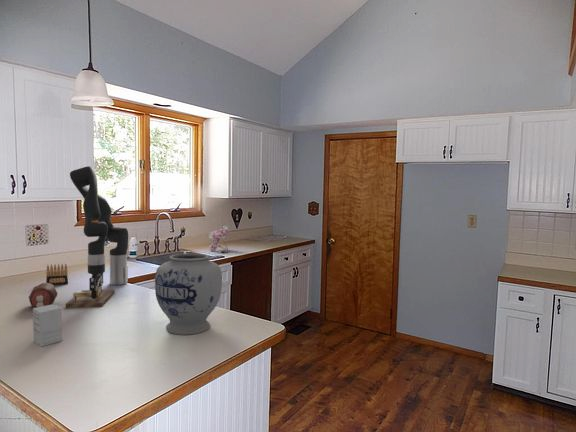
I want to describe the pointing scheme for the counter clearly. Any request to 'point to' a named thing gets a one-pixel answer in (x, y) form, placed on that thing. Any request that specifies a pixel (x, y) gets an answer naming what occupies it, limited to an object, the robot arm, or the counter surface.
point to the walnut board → (87, 300)
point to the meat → (43, 295)
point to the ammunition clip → (57, 275)
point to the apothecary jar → (188, 291)
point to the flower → (217, 237)
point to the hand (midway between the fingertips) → (96, 295)
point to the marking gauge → (88, 294)
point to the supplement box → (47, 324)
